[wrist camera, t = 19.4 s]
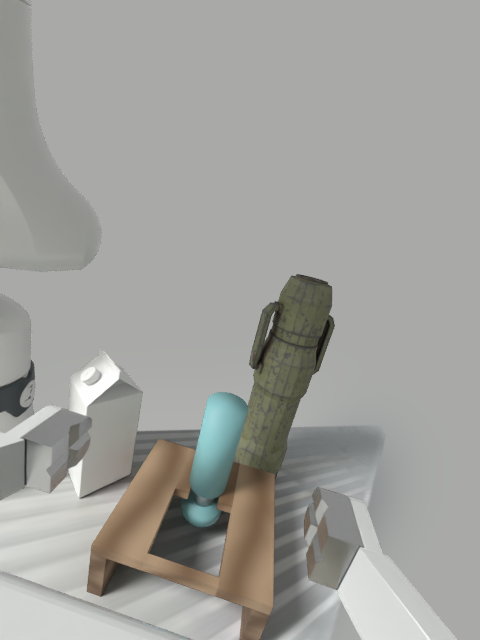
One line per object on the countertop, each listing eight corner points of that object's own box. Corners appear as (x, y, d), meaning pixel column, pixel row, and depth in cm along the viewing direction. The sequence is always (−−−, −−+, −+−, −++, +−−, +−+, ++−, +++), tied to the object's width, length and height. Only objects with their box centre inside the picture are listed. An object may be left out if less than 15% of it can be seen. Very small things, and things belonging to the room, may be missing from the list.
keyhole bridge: (86, 591, 27) (91, 544, 25) (152, 474, 42) (158, 438, 40) (254, 651, 26) (273, 607, 24) (262, 509, 40) (274, 474, 39)
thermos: (293, 482, 47) (364, 292, 37) (231, 495, 41) (296, 278, 32) (269, 445, 54) (324, 278, 44) (215, 451, 49) (263, 265, 39)
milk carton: (113, 444, 45) (125, 344, 40) (130, 475, 41) (147, 366, 35) (64, 462, 40) (71, 350, 35) (78, 499, 36) (88, 377, 30)
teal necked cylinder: (180, 528, 33) (206, 418, 28) (181, 487, 38) (203, 389, 33) (224, 526, 34) (255, 421, 30) (218, 487, 40) (244, 392, 35)
